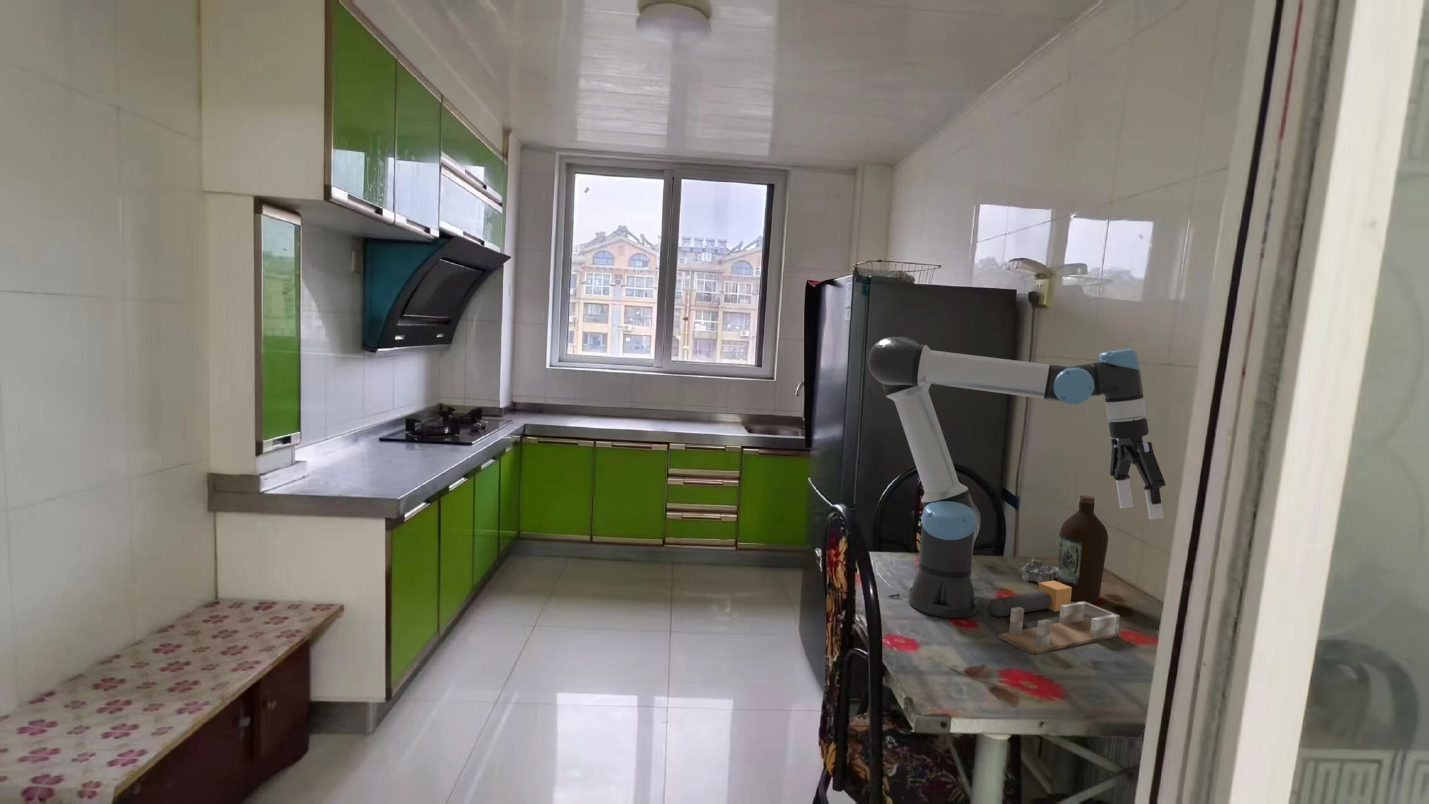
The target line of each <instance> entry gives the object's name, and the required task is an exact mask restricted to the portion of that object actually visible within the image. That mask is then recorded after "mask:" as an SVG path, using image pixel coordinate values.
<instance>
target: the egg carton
mask: <svg viewBox="0 0 1429 804" xmlns="http://www.w3.org/2000/svg"><path fill="white" fill-rule="evenodd" d="M1020 572H1021V579H1022V580H1024V581H1026V582H1035V583H1037V584H1038V585H1039V583H1041V582H1047V581H1054V579H1058V567H1056V566H1051V565H1049V564H1047V565H1046V566H1043V564H1042V562H1041V560H1037V559H1036V558H1035V557H1032V558H1031V559H1029V561H1028V562H1027V563H1026V564H1025V565H1024V566H1023V567H1022V568H1021V570H1020Z"/></svg>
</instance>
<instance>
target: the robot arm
mask: <svg viewBox="0 0 1429 804" xmlns="http://www.w3.org/2000/svg"><path fill="white" fill-rule="evenodd" d="M867 366H868V370H869V372H870V374H871V376H872V377H874V379H875V380H877V381H878V382H879V383H881V386H882V388H883V392H884V394H885V397H886V398H888V399H889V400H892V401H893V402H894V405H895V407H896V410H897V413H898V416H899V420H900V422H901V426H902V428H903V431H904V435H905V437H906V440H907V444H908V446H909V448H910V449H909V450H910V452H911V455H912V458H913V461H914V463H915V466H916V470H917V473H918V476H919V478H920V482H921V485H922V487H923V488H922V489H923V491H924V494H923V496H922V498H921V500H920V502H921V504H922V507H923V510H922V515H921V519H920V522H921V531H920V532H921V533H920V545H919V556H918V557H919V558H918V569H917V573H916V575H915V577H914V580H913V583H912V586H911V587H910V589H909V591H908V599H907V600H908V604H909V605H910V606H911V607H912V606H913V609H915V608H916V610H917V609H918V610H917V611H919V612H921V611H922V613H925V614H928V615H931V616H935V617H939V618H940V617H941V618H947V619H965V618H969V617H972V616H974V615H975V614H976V613H977V608H978V607H977V606H978V600H977V597H976V596H975V589H974V584H973V580H972V570H973V569H972V567H973V555H974V547H975V546H974V545H975V541H976V538H977V537H978V535H979V532H980V530H981V525H982V523H981V522H982V520H981V519H982V518H981V514H980V512H979V509H978V507H977V505H976V504H975V503H974V501H973V499H972V496H971V494H970V491H969V488H968V486H966V485H965V484H962V483H961V482H960V481H959V479H958V475H957V472H956V469H955V467H954V463H953V460H952V458H951V455H950V452H949V449H948V446H947V442H946V440H945V437H944V433H943V431H942V427H941V425H940V422H939V419H938V416H937V414H936V410H935V407H934V405H933V401H932V398H931V395H930V393H929V392H930V391H929V390H930V388H931V385H932V384H933V385H940V386H946V387H953V388H955V387H956V388H961V389H970V390H976V391H984V392H992V393H999V394H1007V395H1014V396H1022V397H1028V398H1036V399H1043V400H1044V399H1045V400H1047V401H1049V402H1062V403H1065V404H1067V405H1079V404H1082V403H1084V402H1085V401H1088V400H1089V399H1090V397H1096V396H1097V397H1098V396H1104V399H1105V400H1104V401H1105V402H1104V403H1105V411H1106V417H1107V418H1106V419H1108V420H1110V421H1109V422H1108V427H1109V428H1108V429H1109V434H1110V437H1111V440H1110V441H1111V455H1110V456H1111V457H1110V467H1109V469H1110V470H1109V475H1110V476H1111V477H1113V478H1114V481H1115V484H1116V489H1117V490H1116V491H1117V497H1118V503H1119V509H1121V510H1122V509H1129V508H1134V502H1133V501H1134V500H1133V494H1132V488H1131V482H1130V481H1131V480H1130V479H1131V477H1130V474H1129V471H1130V468H1131V465H1132V464H1133V465H1134V466H1135V467H1136V469H1137V471H1138V473H1139V475H1140V477H1141V479H1142V482H1143V483H1144V487H1143V490H1144V493H1145V500H1146V506H1147V507H1146V508H1147V514H1148V519H1149V521H1152V520H1160V519H1165V515H1164V508H1163V502H1162V494H1161V488H1162V487H1165V486H1166V481H1165V478H1164V476H1163V474H1162V471H1161V468H1160V466H1159V464H1158V463H1159V462H1158V461H1157V458H1156V456H1155V453H1154V449H1153V448H1154V447H1153V444H1152V442H1151V441H1145V442H1144V440H1143V437H1145V436H1147V435H1149V431H1150V430H1149V424H1148V419H1146V417H1145V416H1146V414H1147V413H1146V411H1147V410H1146V405H1147V401H1145V399H1144V391H1143V390H1144V389H1143V383H1142V382H1143V381H1142V375H1141V368H1140V364H1139V359H1138V354H1137V352H1136V351H1135V350H1134V349H1131V348H1128V349H1118V350H1113V351H1112V350H1111V351H1105V352H1101V353H1099V354H1098V361H1095V362H1091V363H1085V364H1076V365H1068V366H1065V365H1058V364H1055V365H1054V364H1047V363H1040V362H1031V361H1023V360H1013V359H1006V358H999V357H998V358H997V357H990V356H989V357H988V356H980V355H973V354H972V355H971V354H965V353H957V352H955V353H954V352H947V351H940V350H932V349H930V347H929V346H928V345H927V344H919V343H918V341H916V340H914V339H913V338H910V337H906V336H897V337H896V336H889V337H884V338H882V339H880V340H879V341H877V342H876V343H875V344H874V345H873V346H872V347H871V349H870V350H869V353H868V356H867Z"/></svg>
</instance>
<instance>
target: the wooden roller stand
mask: <svg viewBox="0 0 1429 804" xmlns="http://www.w3.org/2000/svg"><path fill="white" fill-rule="evenodd" d="M1024 614H1025V613H1024V609H1023V608H1021V607H1016V608H1011V615H1010V618H1009V629H1008V632H1003V633H998V635H997V638H998V639H1000V640H1002V641H1004V640H1005V642H1006V641H1007V643H1009V644H1010V643H1011V644H1010V645H1012V646H1014V647H1016V648H1018V649H1020V648H1021V650H1022V651H1024V650H1025V653H1028V654H1030V655H1035V654H1034V653H1036V654H1039V653H1040V654H1041V653H1044V652H1050V651H1054V650H1061V649H1065V648H1069V647H1073V646H1074V647H1075V646H1078V645H1083V644H1087V643H1093V642H1099V641H1103V640H1107V639H1112V638H1115V637H1116V638H1117V637H1119V634H1120V633H1119V628H1120V627H1119V626H1120V615H1119V614H1117V613H1114V612H1112V611H1110V610H1107V609H1104V608H1101V607H1099V606H1097V605H1094V604H1093V603H1087V602H1085V601H1083V602H1077V601H1076V602H1072V603H1070V604H1066V605H1061V608H1060V611H1059V618H1058V619H1059V620H1058V622H1056V623H1052V621H1051V620H1049V619H1040V620H1038V621H1037V626H1035V627H1030V628H1025V629H1023V626H1024V625H1023V624H1024Z"/></svg>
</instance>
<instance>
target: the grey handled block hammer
mask: <svg viewBox="0 0 1429 804" xmlns="http://www.w3.org/2000/svg"><path fill="white" fill-rule="evenodd" d="M1071 592H1072V587H1069V586H1067V585H1064V584H1062V583H1059V582H1058V580H1057V581H1056V580H1053V581H1047V582H1041V583H1039V584H1038V590H1037V591H1035V592H1029V593H1022V594H1015V595H1010V596H1003V597H997V598H994V599H991V600H990V601H989V602H988V611H989V613H990V614H991V615H992V616H994V617H996V618H1002V617H1007V616H1011V608H1016V607H1021V608H1023V609H1024V614H1025V613H1029V612H1030V613H1031V612H1035V611H1036V612H1037V611H1040V610H1042V611H1043V610H1047V609H1048V610H1050V611H1053V612H1054V613H1056V612H1060V608H1061V605H1066V604H1071V601H1072V600H1071Z"/></svg>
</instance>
